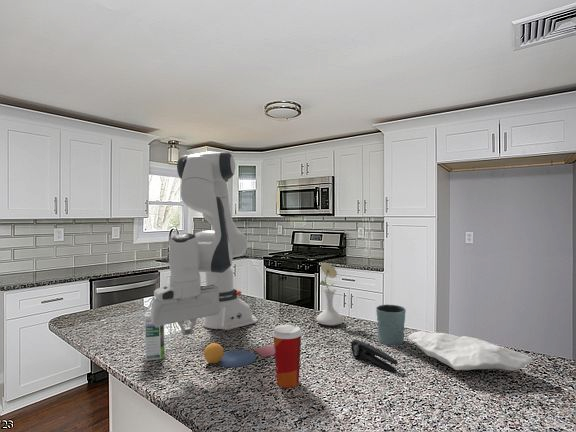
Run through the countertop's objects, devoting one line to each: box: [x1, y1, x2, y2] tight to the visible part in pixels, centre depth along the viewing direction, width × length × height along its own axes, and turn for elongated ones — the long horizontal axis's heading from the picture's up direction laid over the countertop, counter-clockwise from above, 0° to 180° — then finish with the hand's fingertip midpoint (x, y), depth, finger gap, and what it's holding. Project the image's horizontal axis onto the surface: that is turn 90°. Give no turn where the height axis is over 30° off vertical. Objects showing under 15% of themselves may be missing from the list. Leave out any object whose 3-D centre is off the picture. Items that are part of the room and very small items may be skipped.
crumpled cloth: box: [406, 330, 533, 372], centre depth 112 cm, size 24×35×9 cm
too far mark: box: [253, 344, 275, 358], centre depth 126 cm, size 8×8×1 cm
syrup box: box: [144, 311, 166, 362], centre depth 122 cm, size 6×6×14 cm
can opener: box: [350, 339, 399, 373], centre depth 115 cm, size 18×7×6 cm, turn 33°
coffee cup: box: [271, 324, 303, 389], centre depth 102 cm, size 8×8×15 cm
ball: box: [203, 342, 224, 364], centre depth 117 cm, size 6×6×6 cm
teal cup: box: [375, 304, 406, 347], centre depth 133 cm, size 10×10×12 cm
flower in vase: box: [315, 262, 345, 326], centre depth 155 cm, size 13×11×25 cm
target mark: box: [216, 349, 257, 368], centre depth 120 cm, size 13×13×1 cm
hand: (187, 334), depth 112 cm, fingers closed
